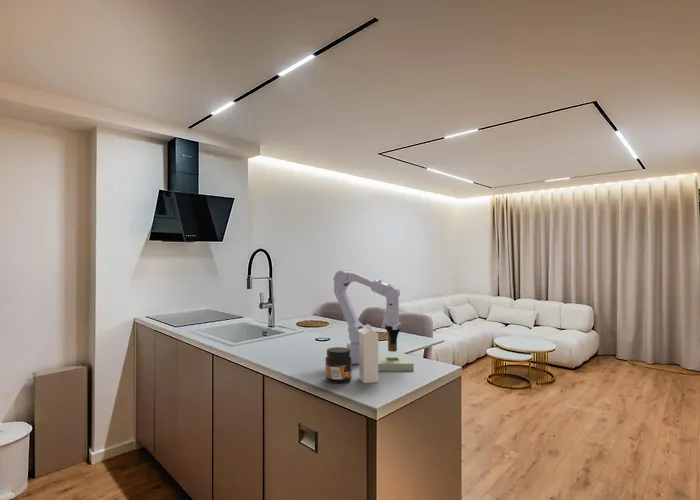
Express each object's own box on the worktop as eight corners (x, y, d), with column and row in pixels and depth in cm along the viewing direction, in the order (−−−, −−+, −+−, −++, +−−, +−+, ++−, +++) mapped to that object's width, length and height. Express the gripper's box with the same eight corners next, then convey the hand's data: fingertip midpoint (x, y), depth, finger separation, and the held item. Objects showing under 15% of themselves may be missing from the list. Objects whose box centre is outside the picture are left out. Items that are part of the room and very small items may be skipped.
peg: (388, 351, 167) (388, 329, 167) (387, 349, 171) (387, 327, 171) (397, 351, 167) (397, 329, 168) (396, 349, 171) (395, 327, 172)
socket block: (377, 370, 161) (377, 363, 161) (372, 361, 176) (373, 354, 177) (413, 370, 161) (413, 363, 161) (406, 361, 177) (406, 354, 177)
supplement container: (334, 386, 140) (334, 354, 141) (320, 379, 149) (320, 348, 149) (356, 381, 147) (357, 350, 147) (341, 374, 155) (341, 345, 156)
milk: (363, 383, 144) (363, 326, 144) (359, 378, 149) (359, 323, 150) (378, 382, 145) (378, 325, 146) (373, 377, 151) (373, 323, 152)
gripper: (404, 315, 163) (404, 346, 162) (398, 311, 177) (398, 339, 177) (388, 315, 162) (388, 346, 162) (383, 311, 177) (383, 339, 176)
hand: (392, 343), depth 169 cm, fingers closed on peg, 4 cm apart
